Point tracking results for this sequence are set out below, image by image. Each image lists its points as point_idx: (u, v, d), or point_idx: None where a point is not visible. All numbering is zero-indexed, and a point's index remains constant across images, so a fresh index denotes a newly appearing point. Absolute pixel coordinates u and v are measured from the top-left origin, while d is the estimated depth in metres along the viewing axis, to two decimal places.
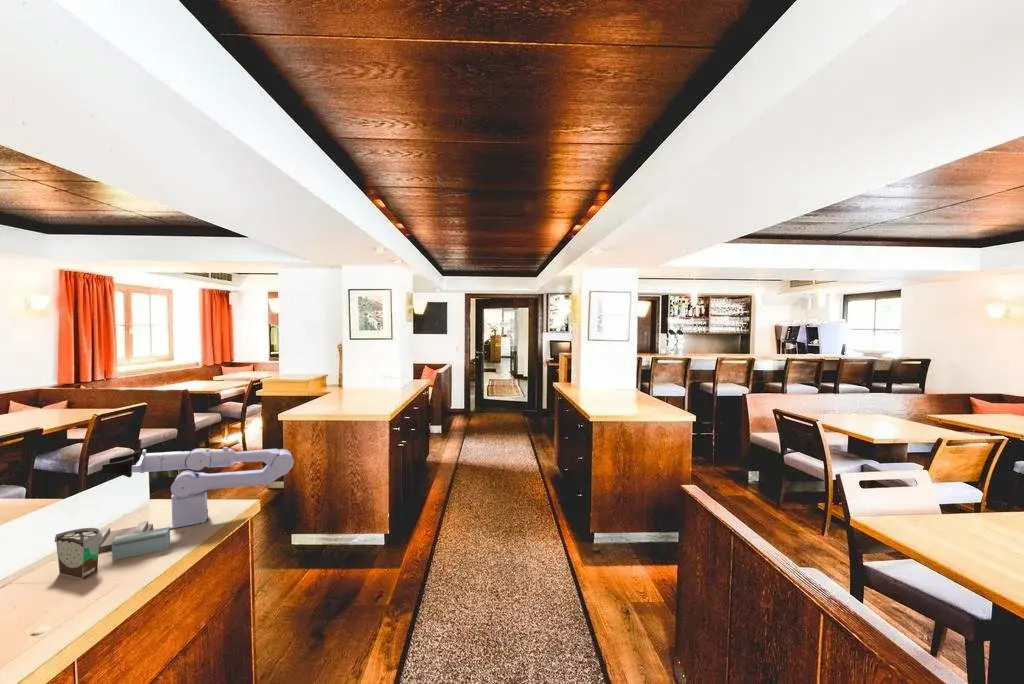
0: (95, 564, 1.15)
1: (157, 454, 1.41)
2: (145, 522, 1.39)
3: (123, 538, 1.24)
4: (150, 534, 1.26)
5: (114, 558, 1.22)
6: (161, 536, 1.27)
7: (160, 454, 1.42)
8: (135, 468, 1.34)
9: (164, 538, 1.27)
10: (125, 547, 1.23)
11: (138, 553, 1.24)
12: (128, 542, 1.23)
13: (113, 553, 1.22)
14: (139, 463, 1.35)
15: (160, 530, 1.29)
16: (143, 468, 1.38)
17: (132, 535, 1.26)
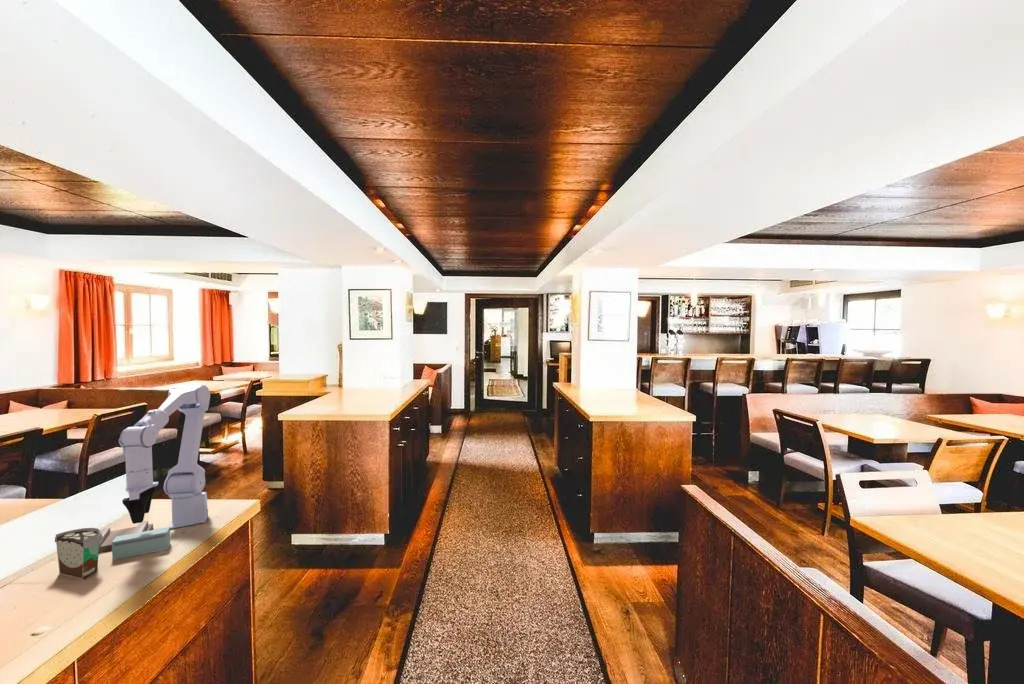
0: (95, 564, 1.15)
1: None
2: (145, 522, 1.39)
3: (123, 537, 1.24)
4: (150, 534, 1.26)
5: (114, 558, 1.22)
6: (161, 536, 1.27)
7: None
8: None
9: (164, 538, 1.27)
10: (125, 547, 1.23)
11: (138, 553, 1.24)
12: (128, 542, 1.23)
13: (113, 553, 1.22)
14: None
15: (160, 530, 1.29)
16: None
17: (132, 535, 1.26)
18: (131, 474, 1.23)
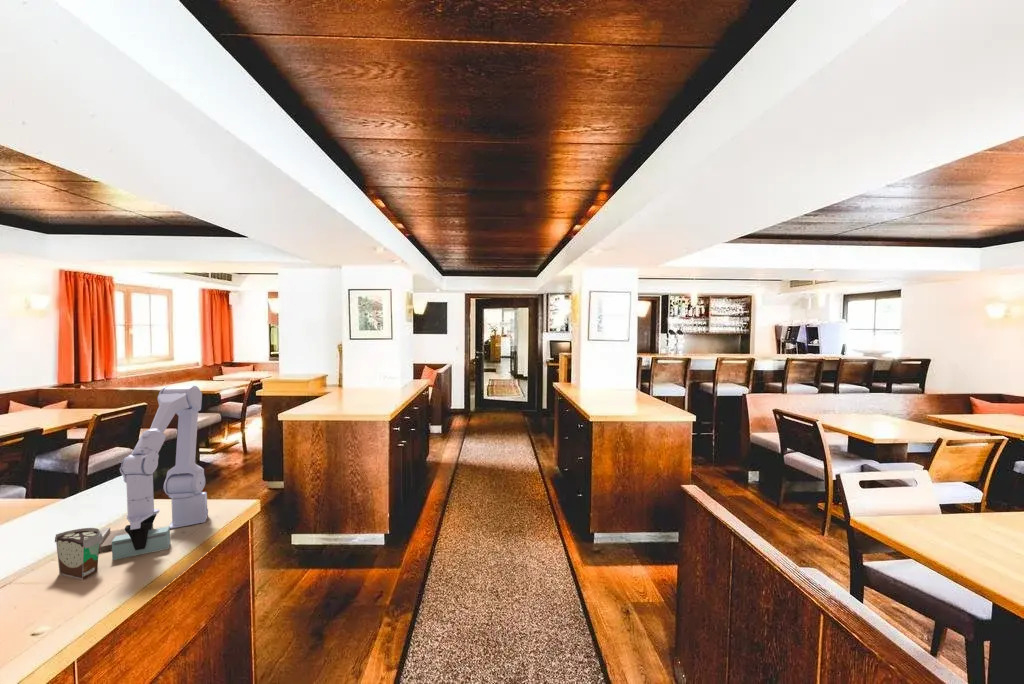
0: (95, 564, 1.15)
1: None
2: None
3: (123, 537, 1.24)
4: (150, 533, 1.26)
5: (114, 557, 1.22)
6: (161, 536, 1.27)
7: None
8: None
9: (164, 537, 1.27)
10: (125, 547, 1.23)
11: (138, 552, 1.24)
12: (128, 541, 1.23)
13: (113, 552, 1.22)
14: None
15: (160, 529, 1.29)
16: None
17: None
18: (132, 503, 1.23)
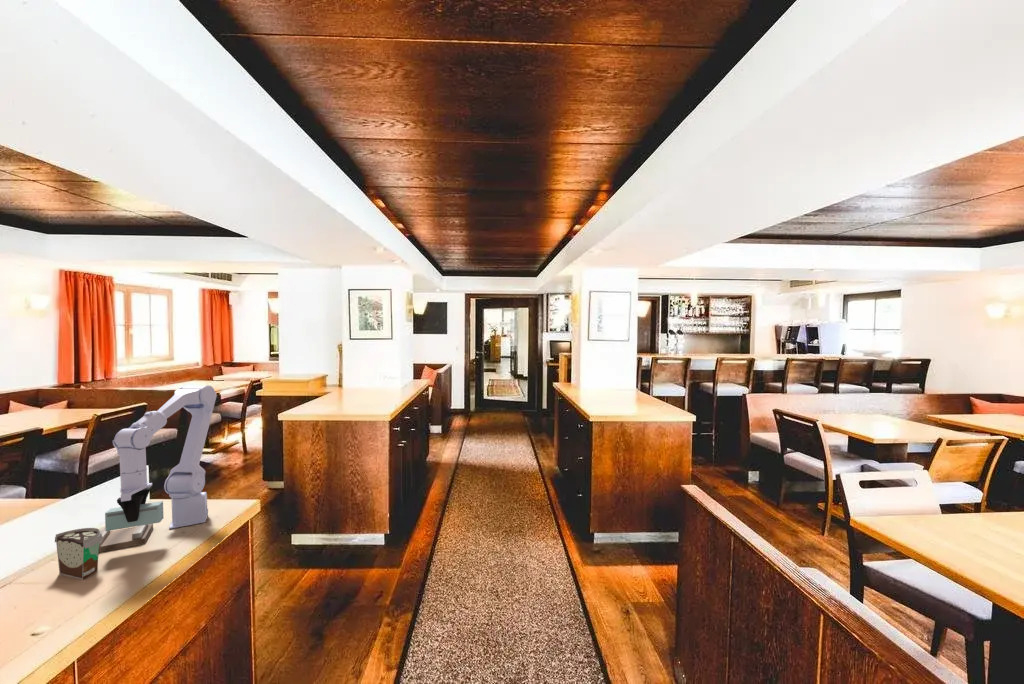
0: (95, 564, 1.15)
1: None
2: None
3: (117, 509, 1.26)
4: (142, 506, 1.28)
5: (107, 529, 1.24)
6: (153, 509, 1.28)
7: None
8: None
9: (156, 510, 1.29)
10: (118, 518, 1.25)
11: (130, 525, 1.26)
12: (120, 513, 1.25)
13: (106, 524, 1.24)
14: None
15: (153, 503, 1.31)
16: None
17: None
18: (124, 475, 1.25)
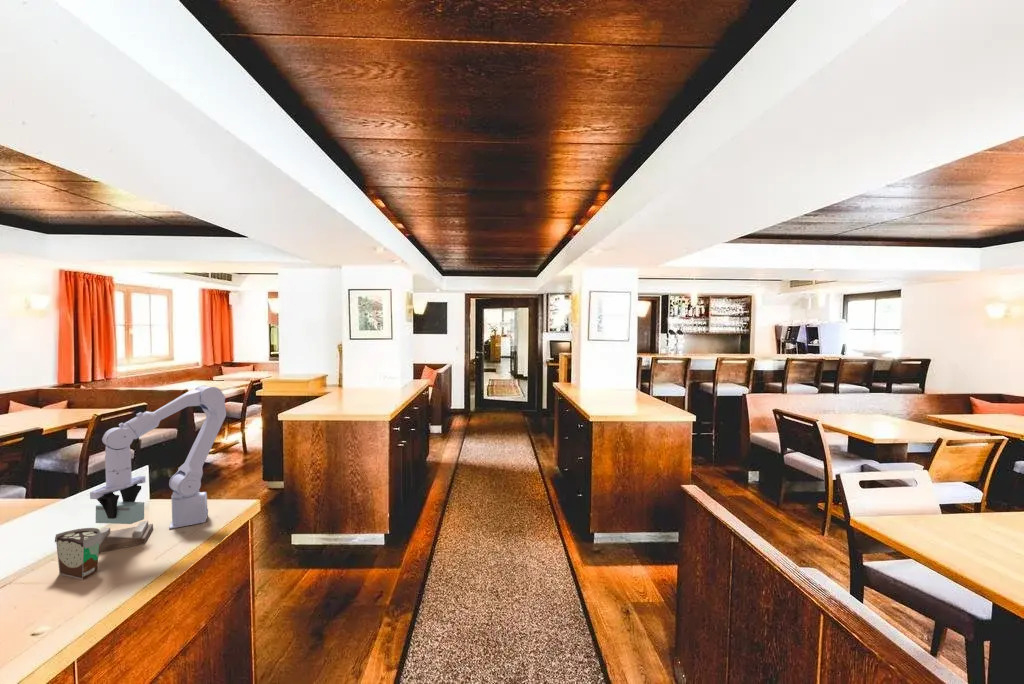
0: (95, 564, 1.15)
1: (129, 472, 1.34)
2: (145, 522, 1.39)
3: None
4: (121, 505, 1.32)
5: (96, 521, 1.32)
6: (127, 510, 1.31)
7: (130, 469, 1.34)
8: None
9: (129, 511, 1.30)
10: (104, 513, 1.32)
11: (111, 521, 1.31)
12: None
13: (96, 516, 1.32)
14: (141, 479, 1.38)
15: (133, 503, 1.33)
16: None
17: None
18: (106, 473, 1.31)
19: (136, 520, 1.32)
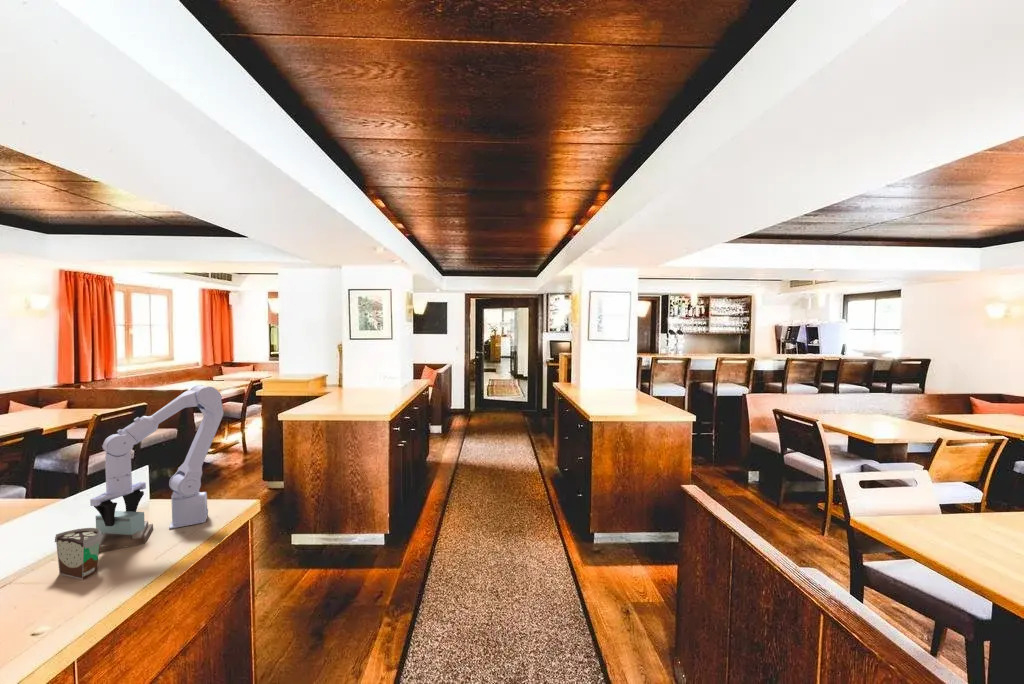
0: (95, 564, 1.15)
1: (130, 478, 1.34)
2: (145, 522, 1.39)
3: None
4: (121, 516, 1.31)
5: None
6: (127, 521, 1.30)
7: (130, 476, 1.34)
8: None
9: (129, 522, 1.30)
10: (104, 523, 1.32)
11: (112, 531, 1.31)
12: None
13: (96, 526, 1.32)
14: (141, 485, 1.38)
15: (133, 513, 1.33)
16: None
17: (115, 512, 1.34)
18: (106, 480, 1.31)
19: (137, 530, 1.32)
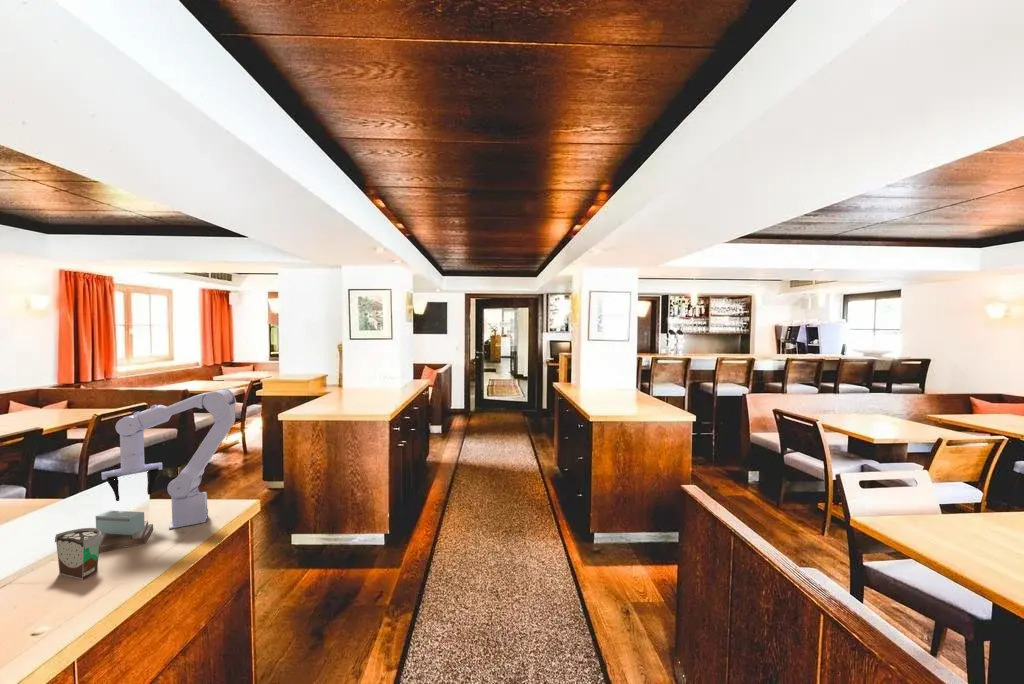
0: (95, 564, 1.15)
1: (138, 458, 1.41)
2: (145, 522, 1.39)
3: (107, 513, 1.33)
4: (121, 516, 1.31)
5: None
6: (127, 521, 1.30)
7: (138, 456, 1.41)
8: None
9: (129, 522, 1.30)
10: (104, 523, 1.32)
11: (112, 531, 1.31)
12: (104, 519, 1.31)
13: (96, 526, 1.32)
14: (156, 465, 1.45)
15: (133, 513, 1.33)
16: None
17: (115, 512, 1.34)
18: None
19: (137, 530, 1.32)
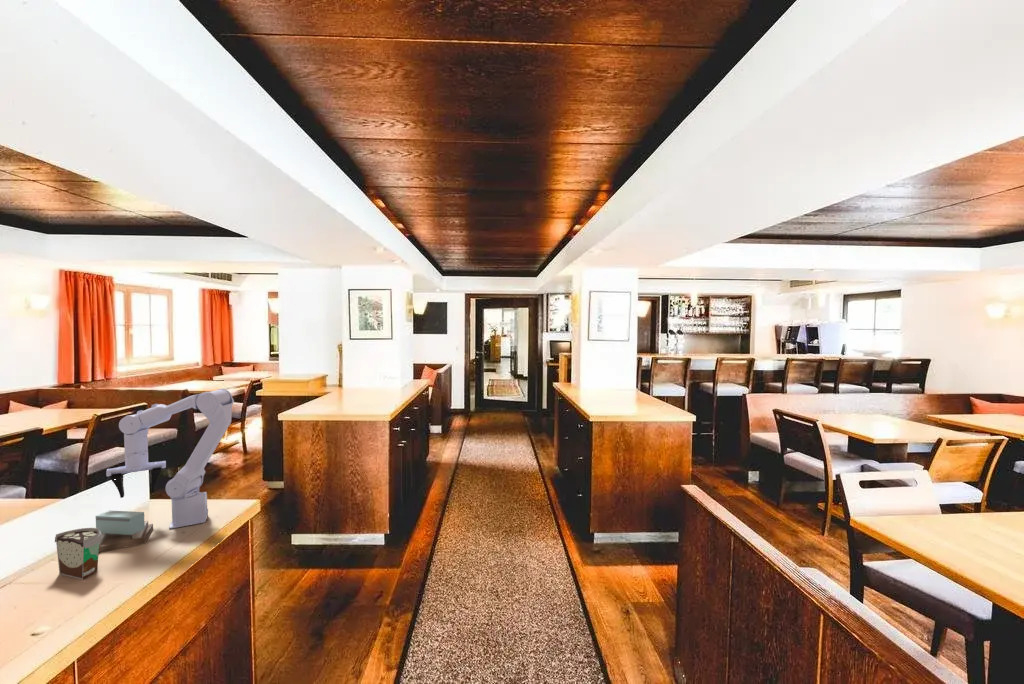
0: (95, 564, 1.15)
1: (140, 456, 1.43)
2: (145, 522, 1.39)
3: (107, 513, 1.33)
4: (121, 516, 1.31)
5: None
6: (127, 521, 1.30)
7: (140, 454, 1.43)
8: (165, 464, 1.48)
9: (129, 522, 1.30)
10: (104, 523, 1.32)
11: (112, 531, 1.31)
12: (104, 519, 1.31)
13: (96, 526, 1.32)
14: (159, 464, 1.47)
15: (133, 513, 1.33)
16: None
17: (115, 512, 1.34)
18: None
19: (137, 530, 1.32)
